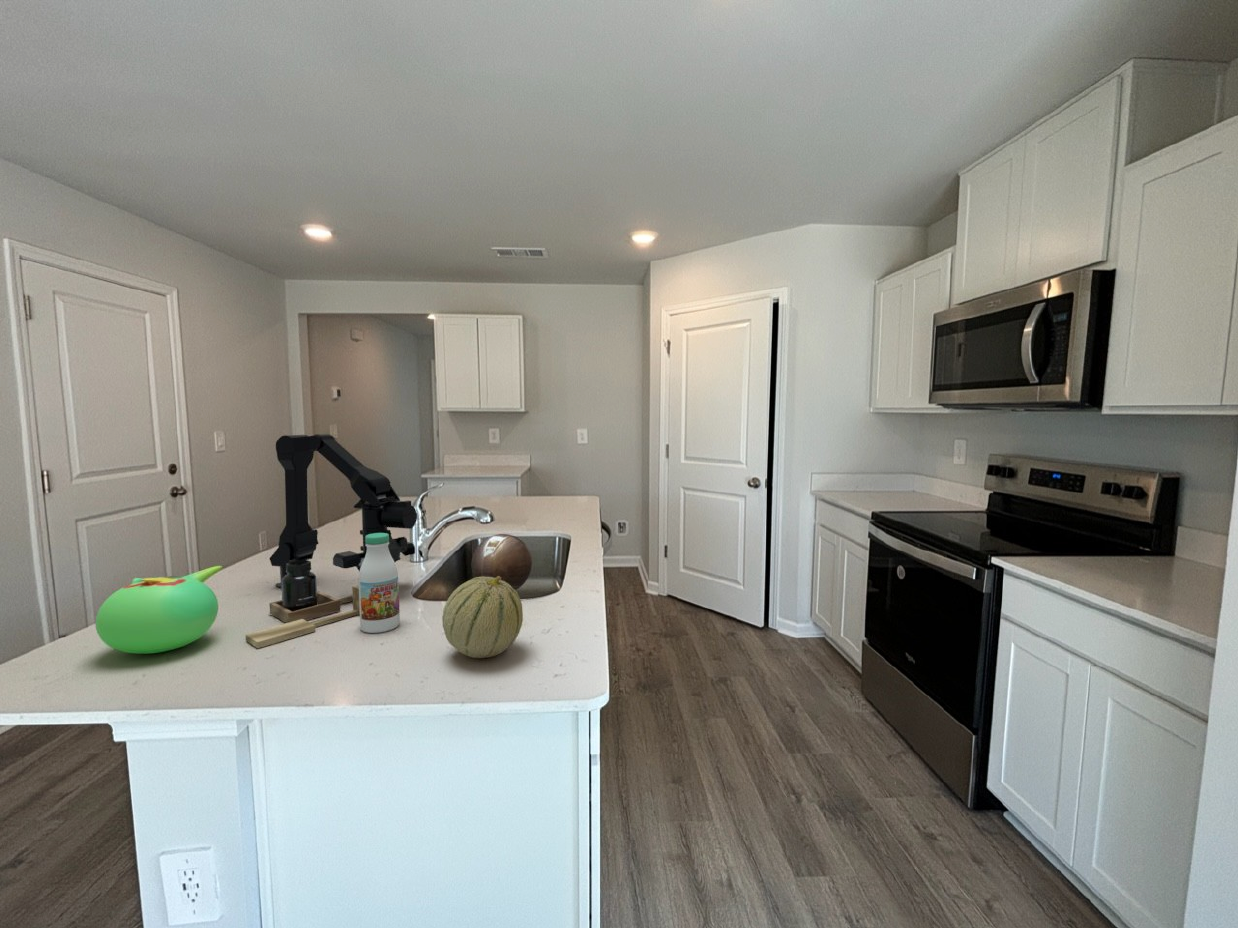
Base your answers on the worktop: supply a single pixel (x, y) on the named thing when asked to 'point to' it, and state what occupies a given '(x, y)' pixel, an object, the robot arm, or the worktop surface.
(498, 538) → the wooden sphere
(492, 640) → the cantaloupe
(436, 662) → the worktop surface
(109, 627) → the green spouted ovoid
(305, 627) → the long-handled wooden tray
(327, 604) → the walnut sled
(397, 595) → the milk bottle
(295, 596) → the supplement bottle
